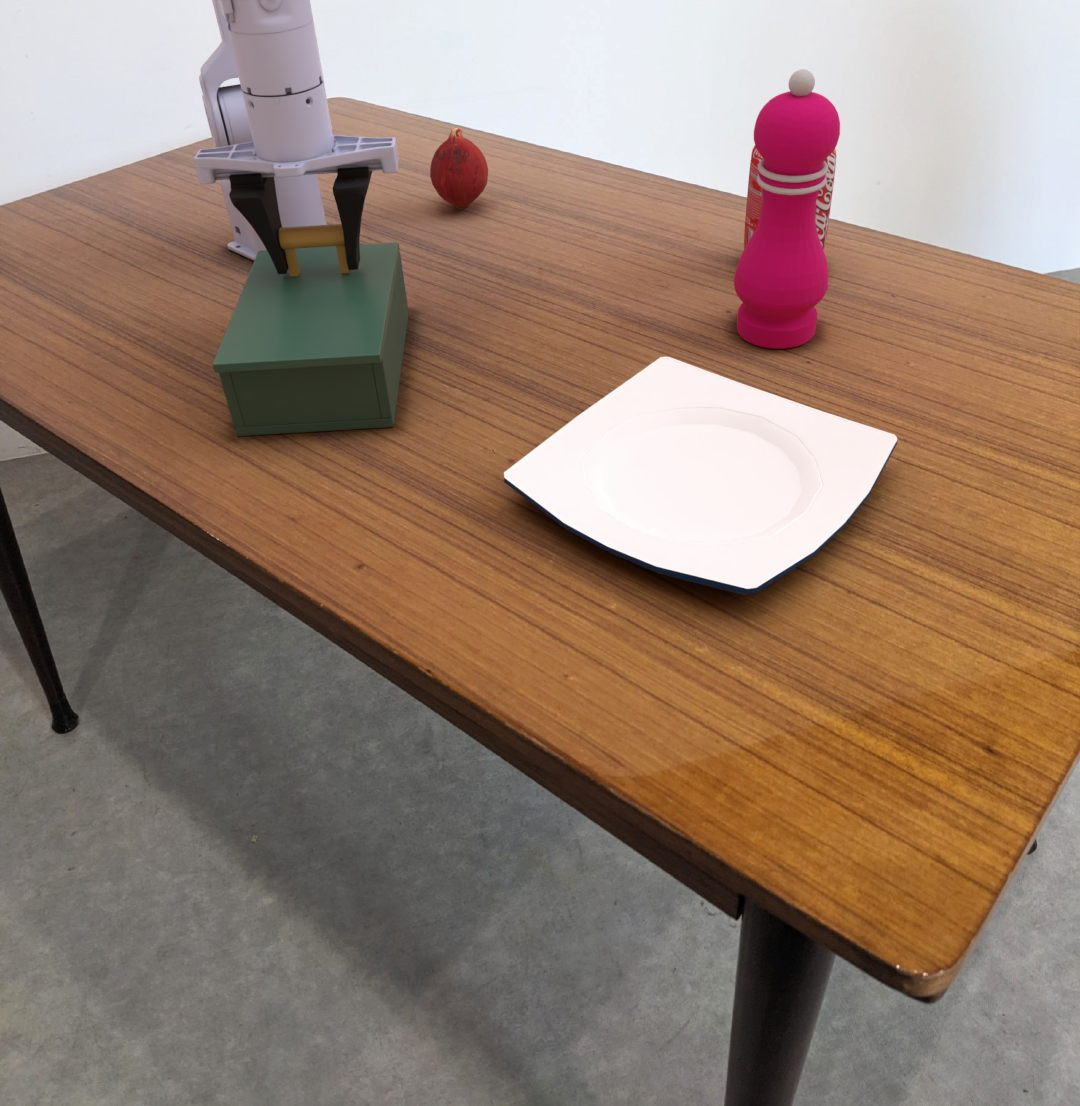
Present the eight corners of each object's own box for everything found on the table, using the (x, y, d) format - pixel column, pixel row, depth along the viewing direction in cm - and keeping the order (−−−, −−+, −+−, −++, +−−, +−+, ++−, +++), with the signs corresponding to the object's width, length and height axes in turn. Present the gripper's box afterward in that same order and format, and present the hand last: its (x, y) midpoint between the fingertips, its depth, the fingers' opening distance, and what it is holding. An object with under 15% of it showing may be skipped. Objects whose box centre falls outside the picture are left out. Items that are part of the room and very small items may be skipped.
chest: (393, 427, 77) (382, 357, 73) (236, 436, 77) (216, 367, 73) (409, 314, 90) (399, 250, 87) (275, 322, 91) (260, 258, 87)
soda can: (817, 249, 96) (835, 114, 88) (826, 285, 91) (845, 144, 83) (739, 250, 97) (750, 116, 89) (743, 285, 91) (754, 145, 84)
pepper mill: (821, 355, 82) (858, 86, 69) (727, 350, 83) (747, 85, 70) (821, 311, 87) (856, 54, 74) (733, 307, 88) (752, 54, 75)
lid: (381, 363, 73) (371, 303, 70) (214, 373, 73) (197, 314, 70) (399, 249, 87) (392, 196, 84) (260, 258, 87) (247, 205, 84)
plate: (659, 377, 81) (660, 346, 79) (912, 467, 70) (920, 434, 68) (482, 510, 69) (479, 477, 67) (754, 642, 59) (759, 607, 57)
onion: (489, 218, 105) (482, 137, 100) (432, 221, 105) (422, 140, 100) (492, 196, 109) (486, 117, 104) (437, 198, 110) (428, 120, 105)
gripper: (165, 108, 70) (216, 295, 79) (381, 95, 70) (407, 283, 79) (189, 77, 76) (234, 255, 84) (389, 64, 76) (413, 244, 84)
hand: (318, 266), depth 82 cm, fingers closed on lid, 5 cm apart
